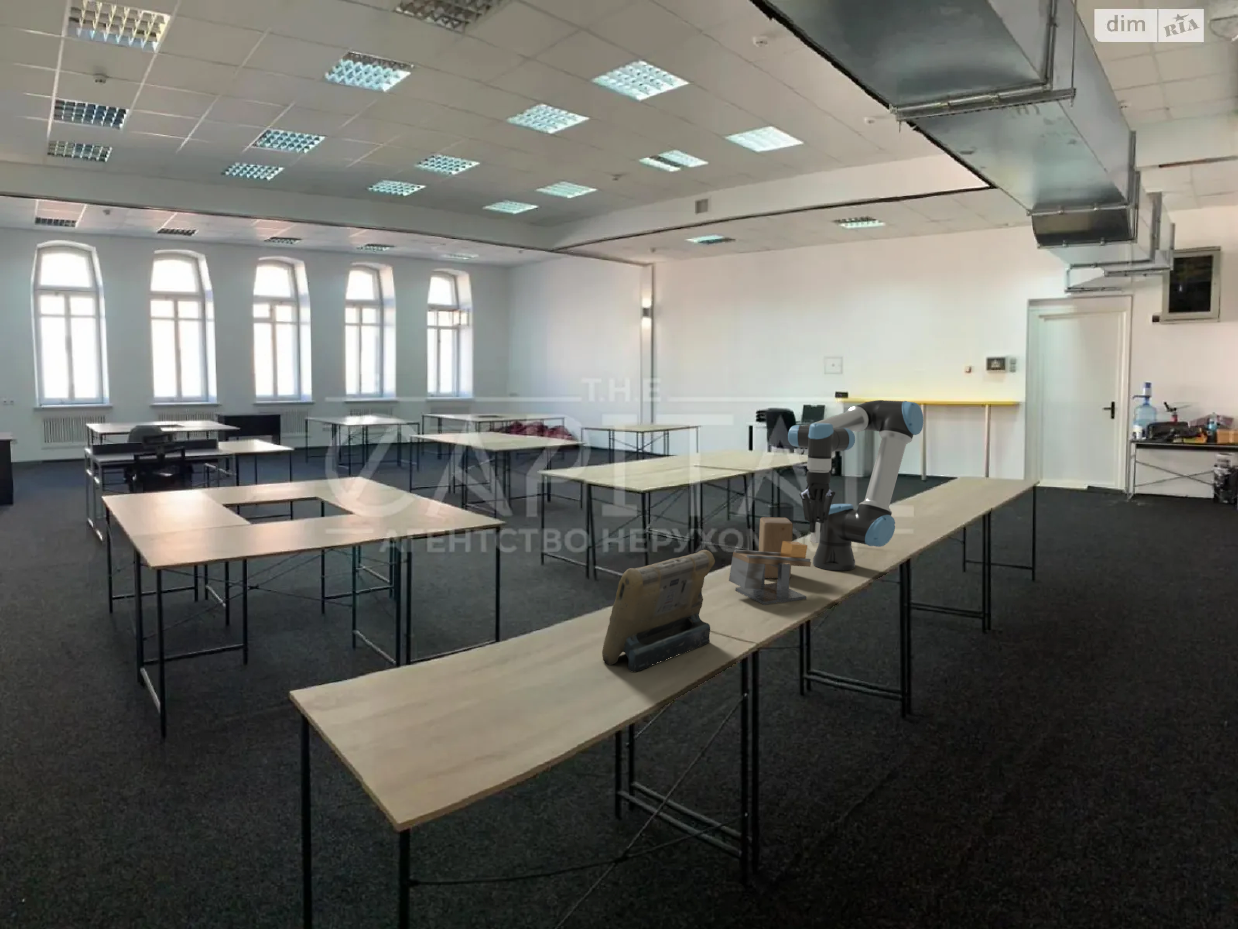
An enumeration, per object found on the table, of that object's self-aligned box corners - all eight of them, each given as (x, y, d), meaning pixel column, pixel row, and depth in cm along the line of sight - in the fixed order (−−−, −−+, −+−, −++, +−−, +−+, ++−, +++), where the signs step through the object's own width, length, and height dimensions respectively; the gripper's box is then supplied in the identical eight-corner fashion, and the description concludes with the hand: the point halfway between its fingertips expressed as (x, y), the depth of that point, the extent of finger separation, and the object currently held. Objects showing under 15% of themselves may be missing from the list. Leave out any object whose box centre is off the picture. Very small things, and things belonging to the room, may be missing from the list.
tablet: (674, 629, 211) (676, 541, 207) (716, 641, 202) (719, 549, 199) (597, 663, 186) (598, 563, 182) (642, 678, 177) (644, 574, 174)
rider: (795, 556, 249) (797, 542, 249) (804, 560, 244) (807, 545, 244) (780, 555, 247) (782, 540, 246) (789, 559, 242) (792, 544, 242)
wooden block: (791, 579, 262) (793, 522, 259) (762, 579, 262) (764, 522, 260) (785, 571, 272) (787, 517, 269) (757, 571, 272) (759, 516, 269)
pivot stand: (776, 585, 254) (777, 550, 253) (806, 599, 240) (807, 562, 238) (735, 590, 248) (736, 554, 246) (763, 604, 233) (765, 566, 232)
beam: (789, 583, 252) (794, 553, 251) (806, 591, 244) (811, 559, 243) (728, 580, 242) (733, 549, 241) (744, 588, 234) (749, 555, 233)
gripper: (827, 468, 252) (823, 538, 254) (795, 470, 246) (791, 541, 249) (842, 471, 245) (838, 543, 248) (809, 473, 239) (805, 546, 242)
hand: (814, 542), depth 248 cm, fingers closed
